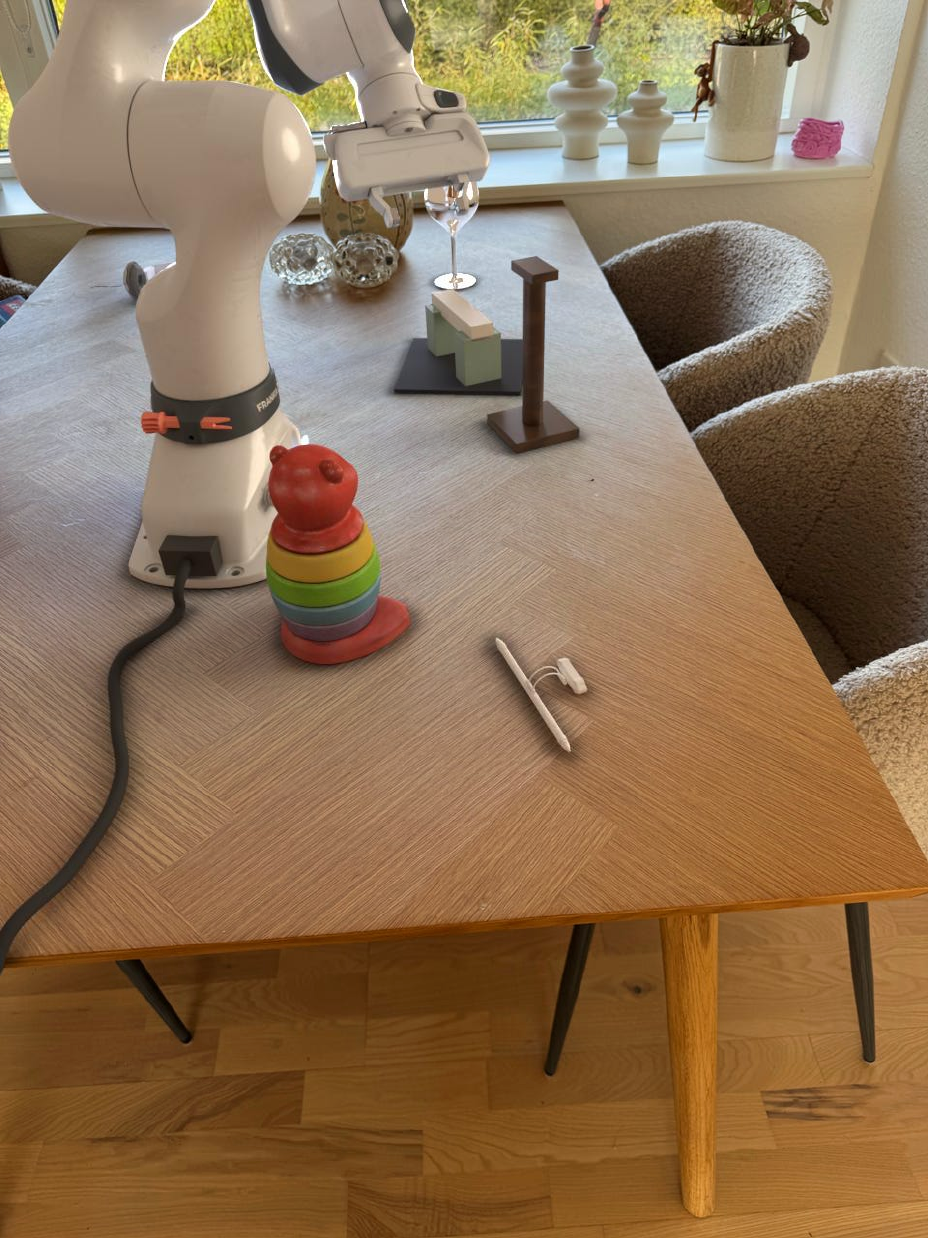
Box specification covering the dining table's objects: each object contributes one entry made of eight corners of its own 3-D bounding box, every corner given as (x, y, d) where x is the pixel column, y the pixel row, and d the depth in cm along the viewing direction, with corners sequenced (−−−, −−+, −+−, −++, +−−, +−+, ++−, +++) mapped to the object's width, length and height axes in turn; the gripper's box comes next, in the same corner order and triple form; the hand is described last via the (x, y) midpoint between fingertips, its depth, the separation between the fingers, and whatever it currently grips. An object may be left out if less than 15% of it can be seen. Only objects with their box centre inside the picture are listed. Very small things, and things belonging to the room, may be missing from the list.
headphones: (202, 309, 137) (243, 283, 155) (195, 269, 135) (238, 247, 152) (90, 309, 139) (143, 283, 156) (82, 269, 136) (137, 247, 153)
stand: (516, 453, 104) (516, 283, 91) (487, 423, 109) (483, 260, 97) (579, 437, 106) (587, 270, 94) (547, 408, 112) (550, 247, 99)
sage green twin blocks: (465, 386, 116) (463, 328, 111) (427, 348, 125) (424, 293, 121) (501, 378, 117) (500, 320, 113) (461, 341, 127) (459, 287, 122)
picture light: (492, 643, 79) (491, 624, 77) (538, 629, 80) (539, 610, 79) (565, 756, 69) (565, 736, 67) (616, 739, 70) (618, 719, 68)
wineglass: (421, 279, 147) (413, 156, 136) (467, 269, 150) (463, 148, 138) (442, 295, 142) (435, 168, 130) (489, 285, 144) (487, 160, 133)
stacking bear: (420, 618, 82) (404, 438, 70) (347, 685, 75) (316, 499, 64) (327, 579, 87) (299, 405, 75) (251, 639, 80) (207, 459, 69)
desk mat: (520, 395, 115) (520, 391, 114) (393, 392, 116) (393, 389, 116) (528, 342, 127) (528, 339, 126) (413, 341, 129) (413, 337, 128)
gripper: (321, 111, 112) (354, 218, 112) (475, 92, 118) (507, 193, 118) (316, 143, 118) (347, 244, 118) (462, 123, 124) (493, 219, 124)
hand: (428, 219), depth 118 cm, fingers open, 8 cm apart
